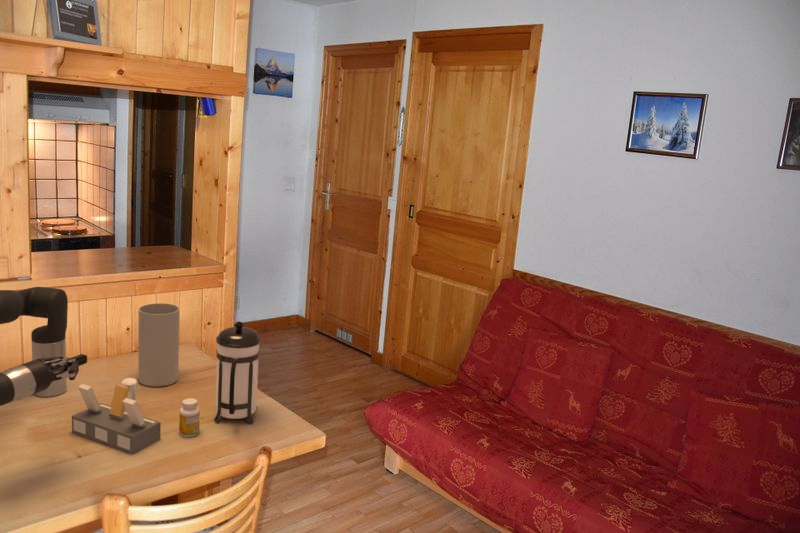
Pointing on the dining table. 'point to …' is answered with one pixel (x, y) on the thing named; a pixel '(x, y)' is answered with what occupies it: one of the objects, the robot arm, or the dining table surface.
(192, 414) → the supplement bottle
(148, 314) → the cylinder vase
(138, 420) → the rocker right
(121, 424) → the strip block
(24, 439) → the dining table surface
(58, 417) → the dining table surface
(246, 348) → the coffee press
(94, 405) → the rocker left
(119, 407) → the rocker amber
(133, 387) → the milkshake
